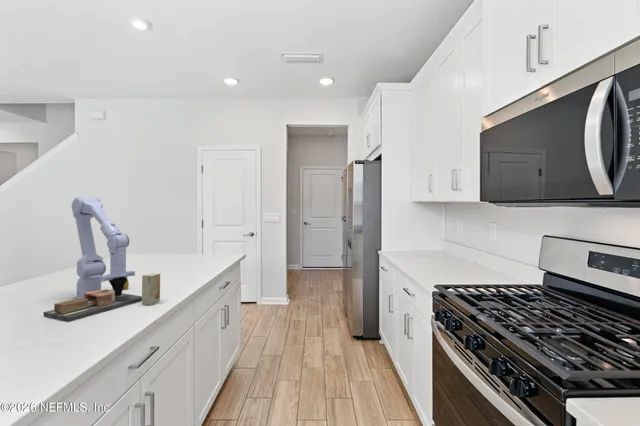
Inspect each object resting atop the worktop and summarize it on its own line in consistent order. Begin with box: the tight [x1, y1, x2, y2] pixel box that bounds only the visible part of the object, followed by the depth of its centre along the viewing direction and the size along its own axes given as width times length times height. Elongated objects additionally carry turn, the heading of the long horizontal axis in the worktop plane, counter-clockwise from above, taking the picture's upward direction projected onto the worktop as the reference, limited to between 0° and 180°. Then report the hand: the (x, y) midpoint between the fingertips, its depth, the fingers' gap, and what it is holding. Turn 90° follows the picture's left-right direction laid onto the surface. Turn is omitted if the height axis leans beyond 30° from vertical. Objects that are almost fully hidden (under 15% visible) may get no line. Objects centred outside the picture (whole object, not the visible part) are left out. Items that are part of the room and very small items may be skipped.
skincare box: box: [141, 272, 161, 306], centre depth 147 cm, size 6×4×12 cm
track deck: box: [43, 290, 142, 323], centre depth 140 cm, size 14×32×6 cm, turn 157°
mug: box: [122, 277, 129, 291], centre depth 173 cm, size 12×7×7 cm, turn 29°
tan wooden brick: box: [53, 289, 115, 314], centre depth 135 cm, size 6×20×4 cm, turn 157°
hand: (117, 295), depth 147 cm, fingers closed
